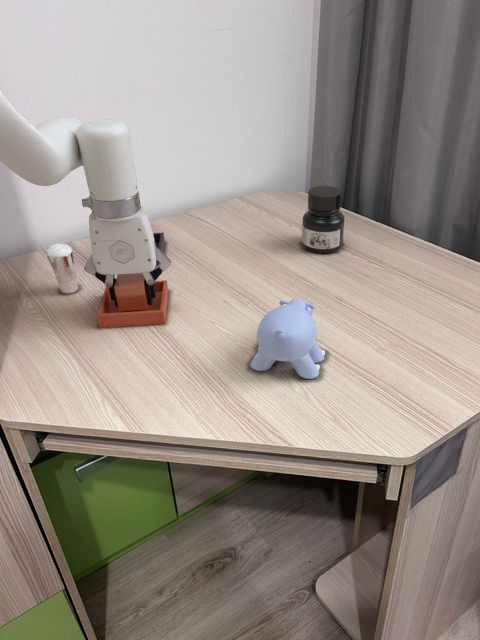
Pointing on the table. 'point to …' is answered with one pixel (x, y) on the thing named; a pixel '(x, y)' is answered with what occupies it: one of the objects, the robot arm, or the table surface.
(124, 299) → the terracotta block
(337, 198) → the ink bottle
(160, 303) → the terracotta tray
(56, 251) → the milkshake
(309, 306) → the hippopotamus toy
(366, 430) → the table surface
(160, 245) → the charcoal tray
